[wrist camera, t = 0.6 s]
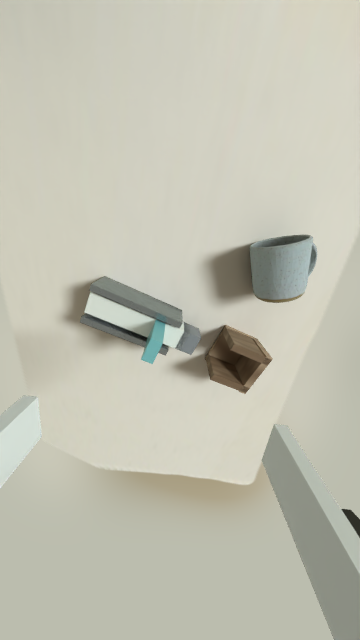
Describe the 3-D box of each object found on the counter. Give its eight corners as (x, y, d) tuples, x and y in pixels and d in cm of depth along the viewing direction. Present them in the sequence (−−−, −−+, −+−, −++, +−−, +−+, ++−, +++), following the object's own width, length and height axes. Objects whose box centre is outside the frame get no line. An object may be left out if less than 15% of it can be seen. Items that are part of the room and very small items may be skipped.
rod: (99, 285, 31) (68, 305, 22) (198, 328, 34) (206, 360, 26) (93, 304, 32) (62, 330, 24) (190, 344, 36) (193, 379, 27)
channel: (104, 276, 32) (91, 283, 27) (181, 310, 34) (182, 323, 29) (94, 309, 34) (79, 322, 29) (167, 338, 37) (165, 355, 31)
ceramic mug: (246, 294, 33) (266, 310, 26) (242, 245, 30) (263, 247, 23) (309, 280, 33) (347, 292, 26) (311, 227, 29) (355, 225, 22)
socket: (225, 324, 35) (235, 342, 30) (257, 339, 37) (272, 359, 31) (204, 357, 38) (209, 380, 32) (234, 370, 40) (245, 393, 34)
